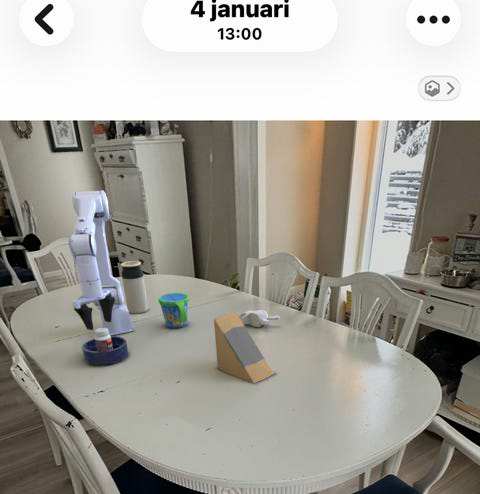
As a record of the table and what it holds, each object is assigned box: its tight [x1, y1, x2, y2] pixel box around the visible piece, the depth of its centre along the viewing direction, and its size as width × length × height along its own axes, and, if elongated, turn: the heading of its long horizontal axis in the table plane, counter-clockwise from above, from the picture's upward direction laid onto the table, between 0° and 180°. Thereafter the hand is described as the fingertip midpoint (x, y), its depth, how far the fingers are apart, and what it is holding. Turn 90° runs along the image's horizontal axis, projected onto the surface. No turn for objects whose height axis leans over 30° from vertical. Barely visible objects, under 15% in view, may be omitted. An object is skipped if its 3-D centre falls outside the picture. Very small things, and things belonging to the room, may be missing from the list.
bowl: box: [81, 335, 129, 366], centre depth 145 cm, size 13×13×4 cm
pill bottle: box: [94, 327, 113, 352], centre depth 143 cm, size 5×5×8 cm
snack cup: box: [158, 292, 190, 329], centre depth 166 cm, size 16×10×10 cm
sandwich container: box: [213, 311, 275, 384], centre depth 130 cm, size 9×15×15 cm, turn 44°
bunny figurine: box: [238, 309, 281, 328], centre depth 164 cm, size 10×5×15 cm
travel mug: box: [120, 260, 149, 314], centre depth 180 cm, size 8×8×18 cm
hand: (99, 325), depth 141 cm, fingers open, 7 cm apart
